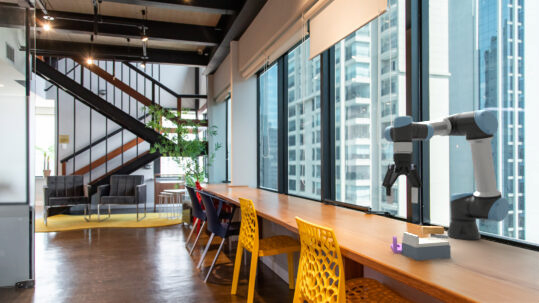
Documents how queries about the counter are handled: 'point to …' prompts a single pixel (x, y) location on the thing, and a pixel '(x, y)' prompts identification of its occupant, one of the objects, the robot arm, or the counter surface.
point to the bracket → (396, 246)
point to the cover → (422, 241)
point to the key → (434, 231)
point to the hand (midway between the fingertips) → (402, 203)
